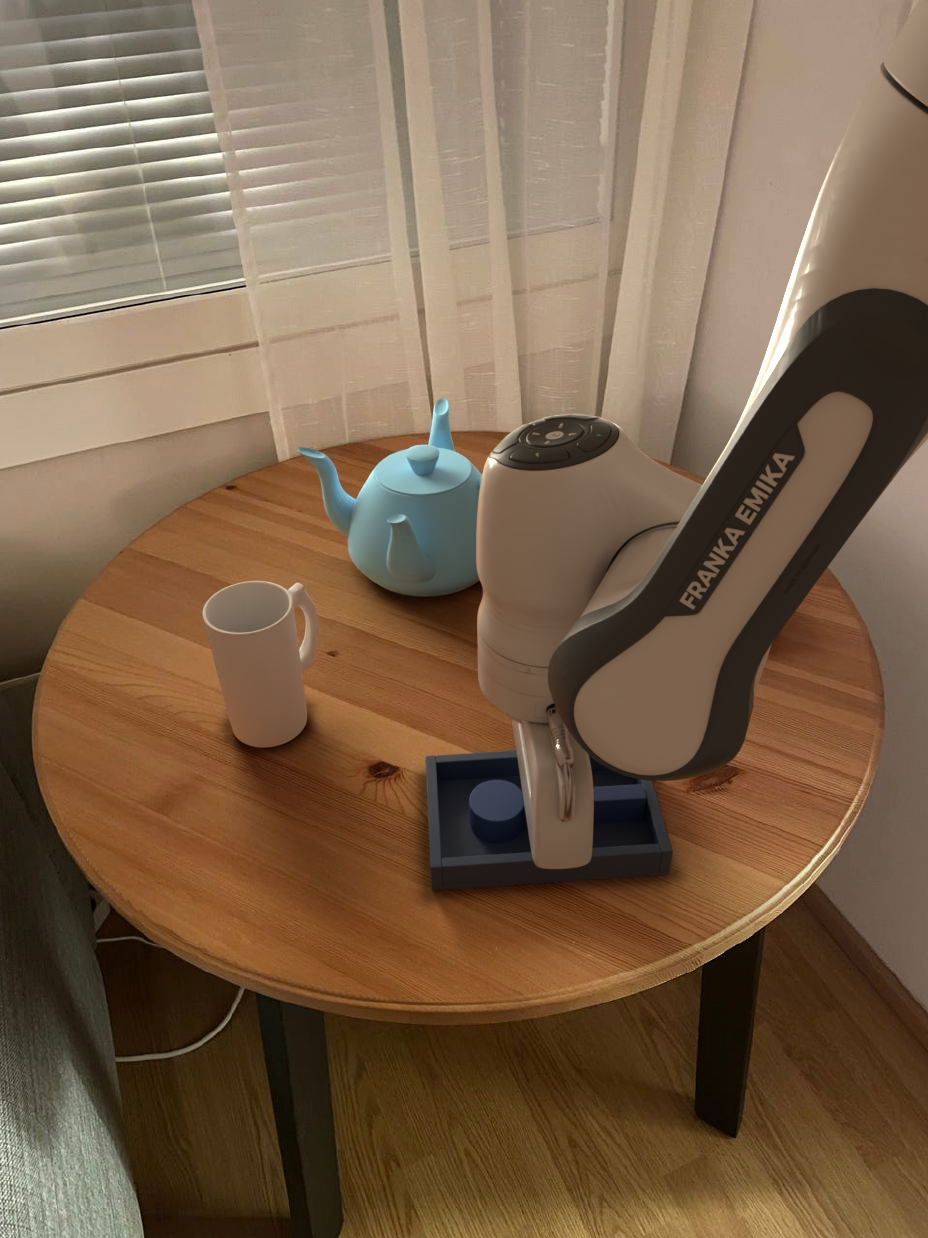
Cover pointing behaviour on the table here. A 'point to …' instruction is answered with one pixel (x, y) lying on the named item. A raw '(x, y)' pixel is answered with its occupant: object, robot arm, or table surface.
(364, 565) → the teapot
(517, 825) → the blue spoon
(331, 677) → the table surface
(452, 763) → the blue tray
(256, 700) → the mug
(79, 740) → the table surface
